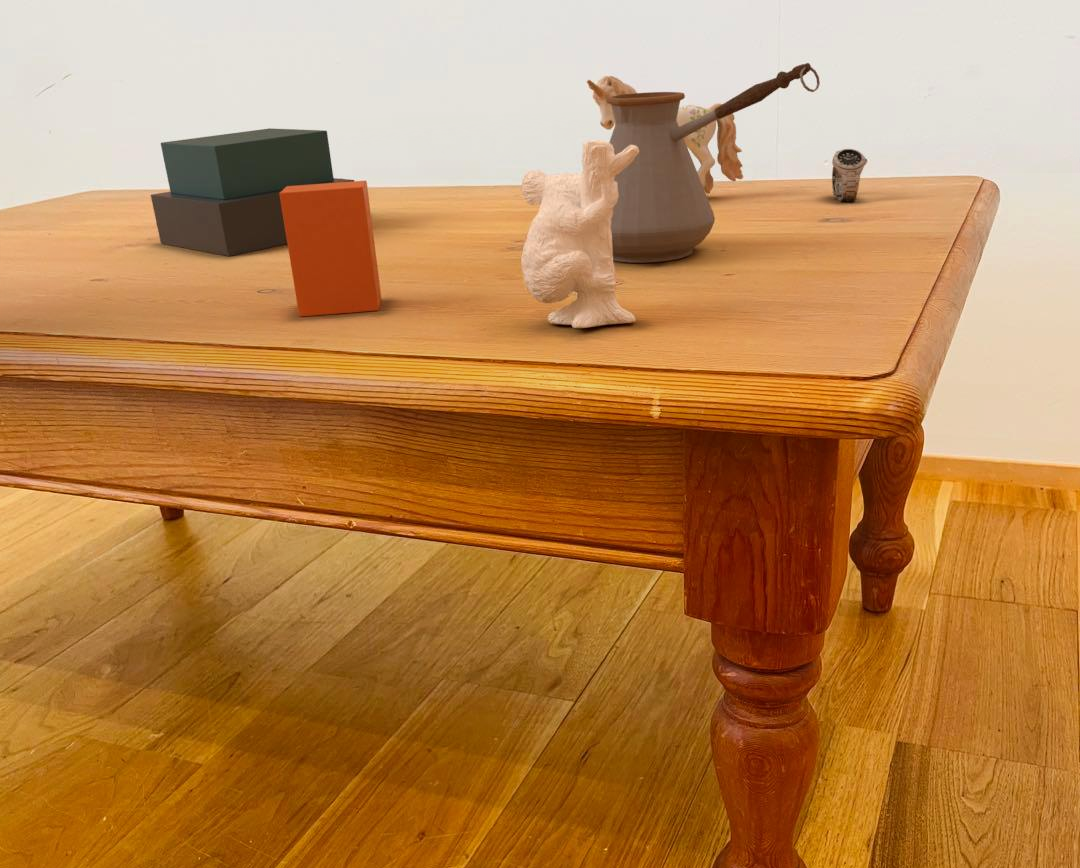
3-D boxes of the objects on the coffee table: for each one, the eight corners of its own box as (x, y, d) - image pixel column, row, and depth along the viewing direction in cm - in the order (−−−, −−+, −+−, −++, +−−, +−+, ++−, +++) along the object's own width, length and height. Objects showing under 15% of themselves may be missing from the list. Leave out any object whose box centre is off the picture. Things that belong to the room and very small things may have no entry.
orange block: (299, 316, 81) (279, 192, 77) (305, 305, 84) (286, 186, 80) (378, 310, 81) (362, 186, 77) (381, 299, 84) (366, 180, 80)
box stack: (228, 256, 105) (208, 148, 101) (160, 243, 114) (139, 144, 110) (360, 228, 115) (347, 129, 111) (288, 218, 124) (273, 126, 120)
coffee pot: (555, 260, 94) (545, 73, 87) (637, 236, 101) (634, 62, 95) (765, 287, 80) (772, 69, 74) (843, 258, 88) (855, 57, 81)
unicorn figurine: (560, 212, 116) (553, 78, 110) (710, 190, 124) (711, 63, 118) (593, 220, 110) (587, 79, 105) (748, 197, 118) (751, 64, 112)
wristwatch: (834, 204, 110) (837, 153, 108) (822, 195, 116) (824, 146, 114) (868, 202, 110) (872, 151, 108) (855, 193, 116) (858, 144, 114)
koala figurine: (662, 318, 74) (660, 133, 69) (610, 343, 69) (603, 146, 64) (562, 306, 79) (553, 132, 74) (506, 329, 74) (492, 145, 69)
